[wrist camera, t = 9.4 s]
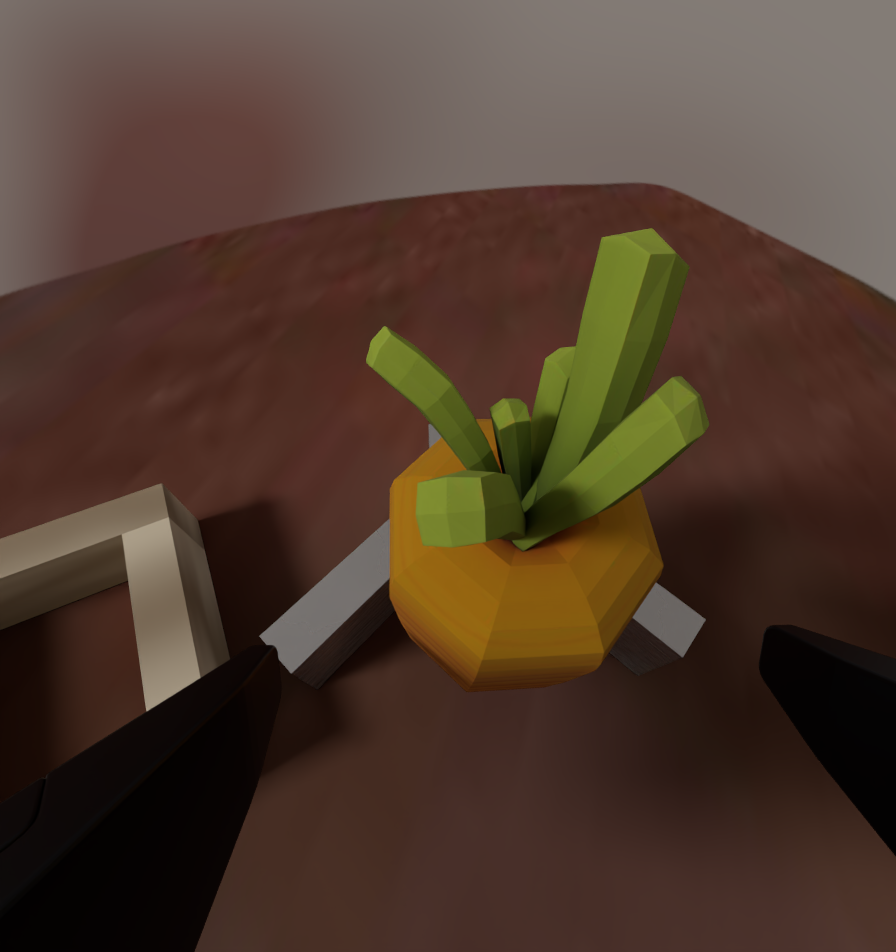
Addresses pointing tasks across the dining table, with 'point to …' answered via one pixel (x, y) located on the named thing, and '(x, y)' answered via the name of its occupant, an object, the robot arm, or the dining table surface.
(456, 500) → the carrot
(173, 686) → the socket block
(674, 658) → the v-block
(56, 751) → the dining table surface
